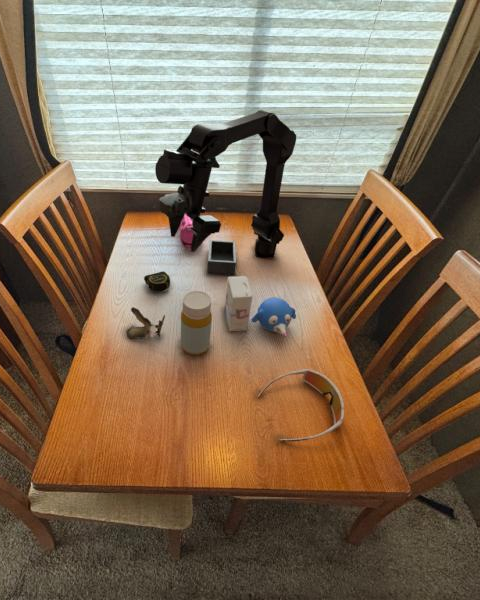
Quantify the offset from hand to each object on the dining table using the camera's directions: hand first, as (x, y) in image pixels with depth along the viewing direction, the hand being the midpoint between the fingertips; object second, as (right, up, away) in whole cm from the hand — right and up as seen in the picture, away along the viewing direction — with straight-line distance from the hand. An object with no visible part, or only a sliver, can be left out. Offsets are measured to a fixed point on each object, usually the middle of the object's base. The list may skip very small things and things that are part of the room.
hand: (182, 243), depth 85 cm
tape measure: (-8, -11, +11) cm, 17 cm away
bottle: (+3, -26, -6) cm, 27 cm away
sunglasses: (+25, -38, -18) cm, 49 cm away
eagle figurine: (-9, -23, -3) cm, 25 cm away
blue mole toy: (+24, -23, -2) cm, 33 cm away
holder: (+12, -3, +21) cm, 24 cm away
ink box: (+14, -20, +1) cm, 25 cm away
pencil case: (+2, +9, +34) cm, 35 cm away
